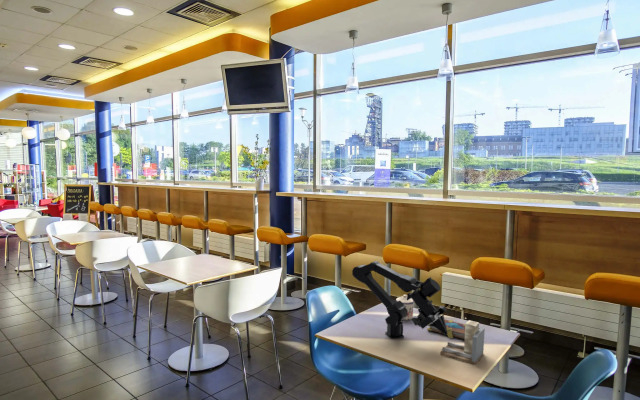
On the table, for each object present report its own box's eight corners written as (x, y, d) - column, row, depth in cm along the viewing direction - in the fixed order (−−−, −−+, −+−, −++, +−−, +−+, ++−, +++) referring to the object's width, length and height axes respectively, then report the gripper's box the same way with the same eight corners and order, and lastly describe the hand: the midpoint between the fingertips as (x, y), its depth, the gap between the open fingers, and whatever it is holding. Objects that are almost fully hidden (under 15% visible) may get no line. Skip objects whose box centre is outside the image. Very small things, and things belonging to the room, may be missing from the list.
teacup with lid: (410, 321, 200) (411, 298, 199) (393, 318, 204) (393, 296, 203) (416, 314, 210) (417, 292, 210) (399, 311, 215) (400, 290, 214)
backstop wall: (471, 361, 156) (472, 336, 156) (479, 350, 166) (480, 327, 165) (475, 362, 155) (476, 337, 155) (483, 351, 165) (484, 328, 164)
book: (430, 322, 203) (430, 312, 202) (480, 335, 188) (481, 324, 187) (417, 330, 190) (417, 320, 190) (469, 344, 175) (470, 333, 174)
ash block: (463, 354, 161) (465, 323, 160) (467, 350, 165) (468, 320, 164) (474, 357, 159) (475, 326, 158) (477, 353, 163) (478, 322, 162)
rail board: (440, 354, 164) (440, 349, 163) (449, 344, 173) (449, 339, 173) (475, 364, 155) (475, 359, 155) (483, 353, 165) (483, 348, 165)
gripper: (418, 306, 185) (440, 336, 179) (401, 318, 170) (424, 350, 164) (435, 294, 179) (458, 323, 174) (419, 304, 164) (444, 337, 159)
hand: (446, 334), depth 168 cm, fingers closed
